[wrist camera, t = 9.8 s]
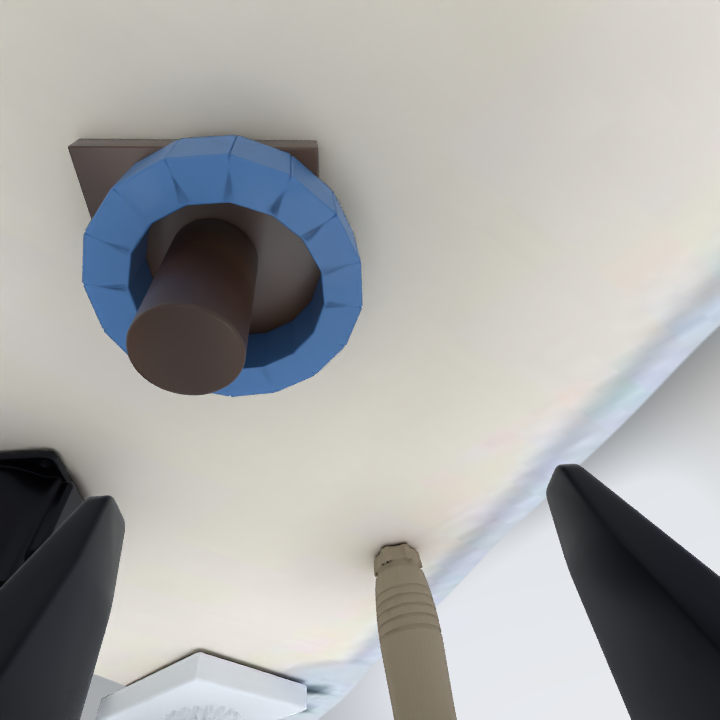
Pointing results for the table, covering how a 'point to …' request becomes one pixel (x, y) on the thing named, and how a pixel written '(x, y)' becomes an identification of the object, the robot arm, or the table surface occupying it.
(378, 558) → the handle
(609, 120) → the table surface
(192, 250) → the peg stand
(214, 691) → the trophy
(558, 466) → the robot arm
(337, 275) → the tape
